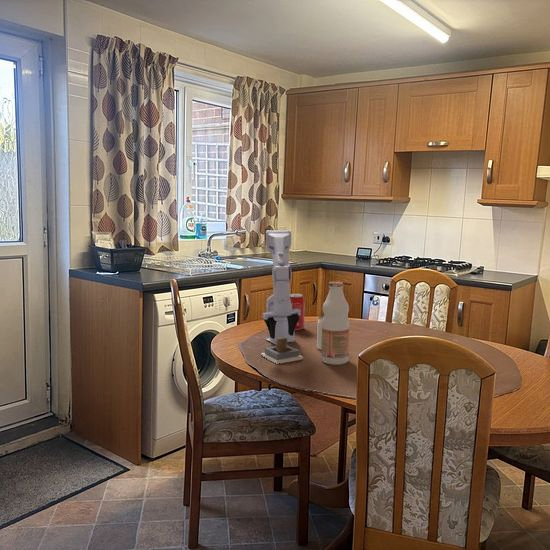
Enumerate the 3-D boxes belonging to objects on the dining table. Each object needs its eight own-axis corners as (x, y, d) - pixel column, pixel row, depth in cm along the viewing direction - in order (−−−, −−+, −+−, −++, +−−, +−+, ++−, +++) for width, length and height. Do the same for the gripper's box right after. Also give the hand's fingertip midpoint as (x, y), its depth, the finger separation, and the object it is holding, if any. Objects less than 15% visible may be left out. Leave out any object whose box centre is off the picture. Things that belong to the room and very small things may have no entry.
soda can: (284, 330, 231) (284, 296, 228) (288, 326, 238) (289, 292, 236) (301, 331, 228) (302, 297, 226) (306, 327, 236) (306, 293, 233)
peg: (283, 352, 196) (283, 336, 195) (289, 355, 192) (289, 339, 191) (273, 354, 193) (274, 338, 192) (280, 357, 190) (280, 340, 189)
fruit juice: (316, 362, 188) (317, 283, 183) (329, 355, 195) (331, 279, 191) (340, 367, 182) (341, 285, 178) (353, 360, 190) (354, 281, 186)
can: (314, 347, 205) (314, 316, 204) (329, 345, 208) (329, 315, 206) (322, 351, 199) (322, 320, 198) (337, 349, 202) (337, 318, 200)
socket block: (286, 351, 200) (286, 343, 200) (302, 359, 191) (303, 351, 190) (260, 355, 195) (260, 347, 194) (276, 364, 185) (276, 355, 185)
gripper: (269, 303, 183) (269, 342, 185) (305, 299, 190) (304, 336, 192) (259, 299, 189) (259, 337, 191) (294, 295, 196) (294, 331, 198)
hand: (281, 336), depth 192 cm, fingers open, 7 cm apart
